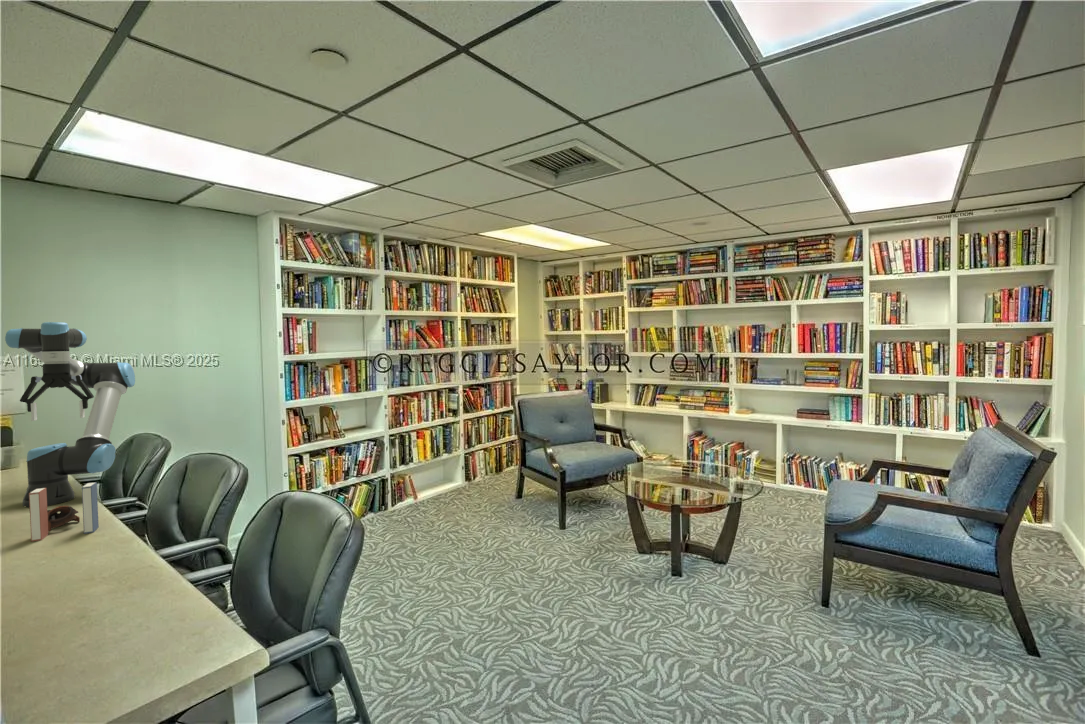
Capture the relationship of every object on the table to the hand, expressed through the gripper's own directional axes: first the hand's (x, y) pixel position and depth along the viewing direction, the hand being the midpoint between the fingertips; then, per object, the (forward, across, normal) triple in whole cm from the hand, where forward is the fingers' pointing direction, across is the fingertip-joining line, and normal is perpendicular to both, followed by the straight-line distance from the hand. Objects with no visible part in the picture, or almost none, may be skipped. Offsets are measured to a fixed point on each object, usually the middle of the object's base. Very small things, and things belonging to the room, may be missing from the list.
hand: (58, 419), depth 190 cm
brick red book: (+37, +2, -28) cm, 46 cm away
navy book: (+37, +15, -28) cm, 48 cm away
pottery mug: (+38, +4, -16) cm, 41 cm away
